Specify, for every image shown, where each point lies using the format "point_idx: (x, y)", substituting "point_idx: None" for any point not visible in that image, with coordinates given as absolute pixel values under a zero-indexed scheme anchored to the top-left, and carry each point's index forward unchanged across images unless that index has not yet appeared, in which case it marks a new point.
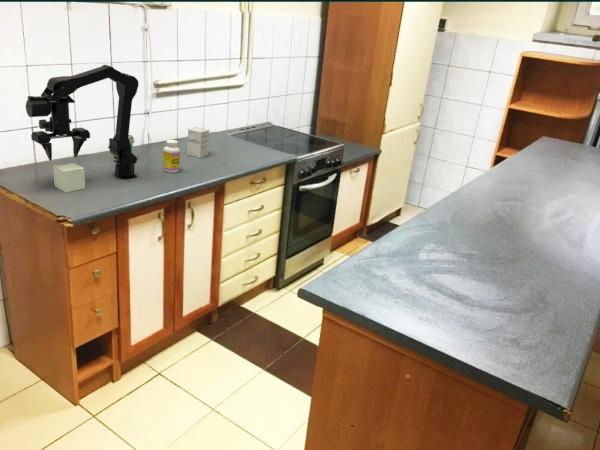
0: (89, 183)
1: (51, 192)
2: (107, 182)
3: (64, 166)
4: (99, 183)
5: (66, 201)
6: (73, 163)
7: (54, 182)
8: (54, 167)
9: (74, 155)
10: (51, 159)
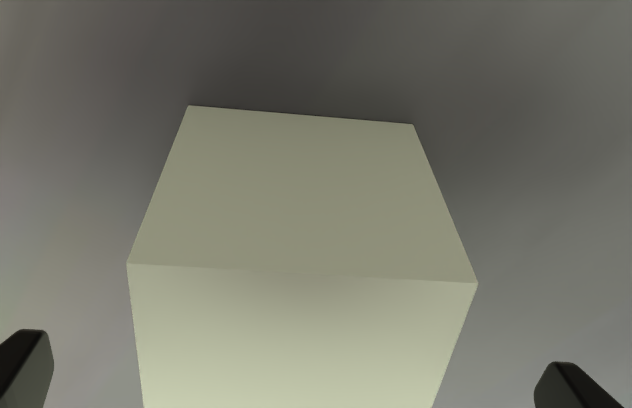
0: (503, 211)
1: (91, 218)
2: (625, 266)
3: (260, 349)
4: (560, 252)
5: (115, 389)
6: (458, 307)
7: (180, 132)
8: (134, 285)
9: (553, 399)
10: (44, 394)
